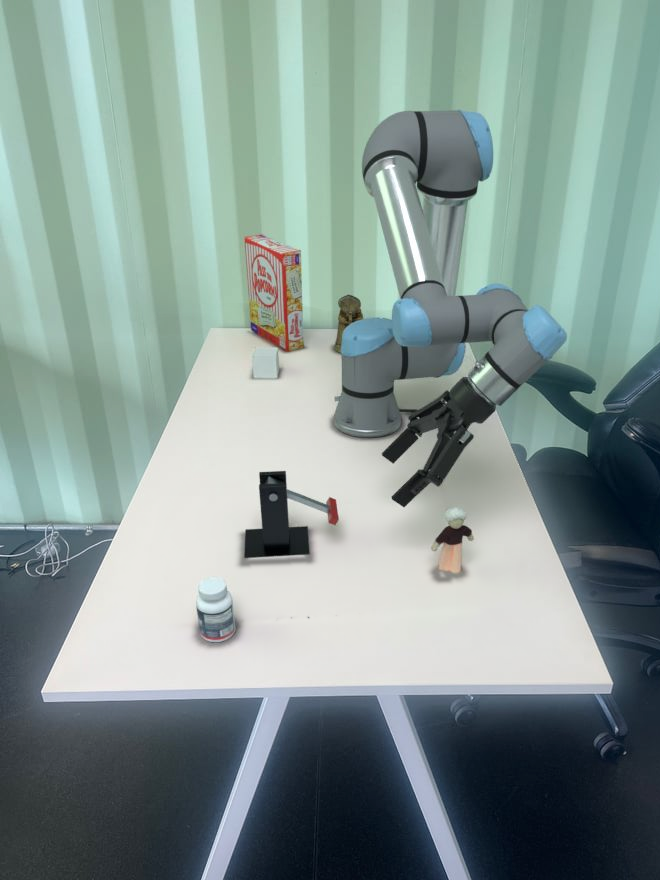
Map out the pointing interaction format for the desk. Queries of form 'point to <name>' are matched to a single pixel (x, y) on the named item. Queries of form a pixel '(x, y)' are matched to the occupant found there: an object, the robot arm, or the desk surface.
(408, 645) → the desk surface
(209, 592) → the pill bottle
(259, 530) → the bracket
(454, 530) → the grandmother figurine
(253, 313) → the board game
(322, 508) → the lever
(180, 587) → the desk surface
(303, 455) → the desk surface
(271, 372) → the pale blue cube
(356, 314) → the bronze figurine
